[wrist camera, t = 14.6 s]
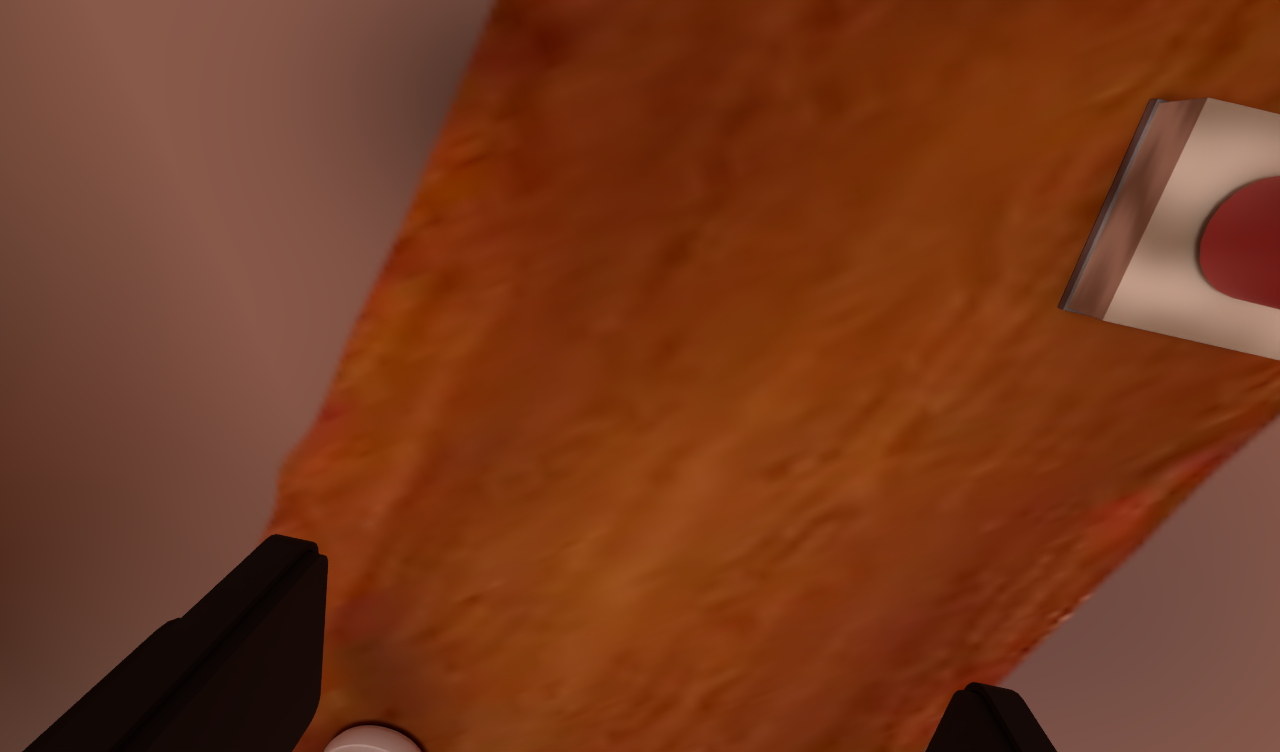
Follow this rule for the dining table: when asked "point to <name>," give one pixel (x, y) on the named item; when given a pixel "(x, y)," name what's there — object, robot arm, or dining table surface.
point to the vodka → (371, 741)
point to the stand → (1178, 226)
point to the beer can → (1246, 245)
